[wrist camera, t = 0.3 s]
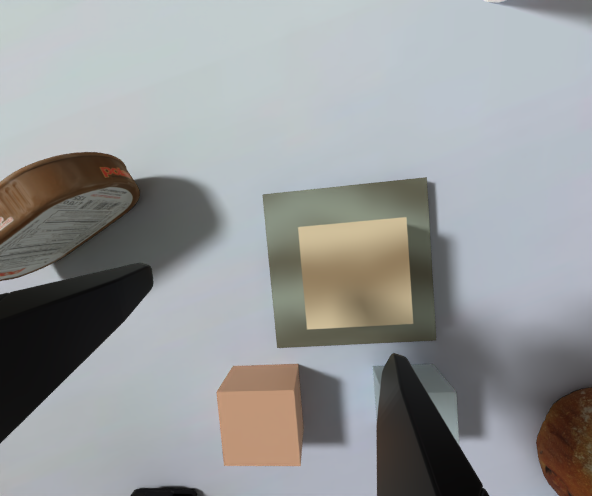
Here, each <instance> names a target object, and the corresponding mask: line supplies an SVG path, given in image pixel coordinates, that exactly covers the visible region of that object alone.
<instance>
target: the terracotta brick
mask: <svg viewBox="0 0 592 496" xmlns="http://www.w3.org/2000/svg"><path fill="white" fill-rule="evenodd" d="M217 401H218V411H219V420H220V430H221V439H222V449H223V459H224V466H301V453H302V441H303V429H304V427H303V416H302V404H301V392H300V380H299V368H298V364H281V365H251V366H233V367H232V368H231V370H230V372H229V373H228V375H227V376H226V378H225V379H224V381H223V383H222V384H221V386H220V387H219V389H218V390H217Z"/></svg>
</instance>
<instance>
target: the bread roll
mask: <svg viewBox="0 0 592 496" xmlns="http://www.w3.org/2000/svg"><path fill="white" fill-rule="evenodd" d="M536 444H537V452H538V458H539V462H540V465H541V468H542V471H543V474H544V476H545V478H546V480H547V481H548V483H549V485H550V486H551V487H552V488H553V489H554V490H555V491H556V493H557V494H558V495H559V496H592V388H585V389H580V390H577V391H574V392H572V393H570V394H568V395H566V396H564V397H562V398H561V399H560V400H558V401H557V402H556V403H554V404H553V405H552V407H551V408H550V411H549V413H548V414H547V415H546V420H545V421H544V422H543V424H542V427H541V429H540V432H539V434H538V437H537V441H536Z"/></svg>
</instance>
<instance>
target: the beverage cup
mask: <svg viewBox="0 0 592 496" xmlns="http://www.w3.org/2000/svg"><path fill="white" fill-rule="evenodd" d="M484 1H486V2H496V3H499V2H502V1H505V0H484Z"/></svg>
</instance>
